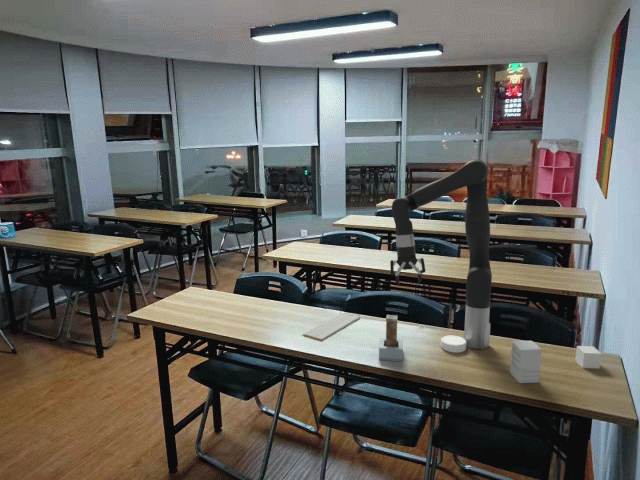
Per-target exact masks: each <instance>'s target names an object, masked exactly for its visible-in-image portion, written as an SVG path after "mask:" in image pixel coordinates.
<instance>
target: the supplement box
mask: <svg viewBox="0 0 640 480" xmlns="http://www.w3.org/2000/svg"><path fill="white" fill-rule="evenodd" d="M510 353H511V356H510V357H511V358H510V368H509V369H510V370H509V374H510V375H511V376H512V377H513V379H514V380H515V381H516V382H518V383H519V384H529V383H530V384H534V383H540V375H541V363H542V353H543V349H542V348H541V347H540V346H538V345H537V344H536V343H535V342H534V341H532V340H515V341H511V352H510Z"/></svg>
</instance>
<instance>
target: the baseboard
mask: <svg viewBox="0 0 640 480" xmlns="http://www.w3.org/2000/svg"><path fill="white" fill-rule="evenodd" d="M349 313H350V311H347V313H346V312H340V313H339V314H337V315H336V316H334V317H332V318H330V319H329V320H326V321H324V322H323V323H321V324H319V325H317V326H315V327H314V328H312V329H310V330H308V331H306V332H305V333H303V334H302V336H303V337H307V338H310V339H314V340H316V341H317V340H318V341H321V342H322V341H324V340H326V339H327V338H329V337H330V336H333V335H334V334H335V333H337V332H339V331H342V330H343V329H344V328H346V327H348V326H350V325H351V324H353V323H354V322H356V321H358V320H359V319H360V318H361V317H360V314H358V315H354V314H351V313H350V314H349Z"/></svg>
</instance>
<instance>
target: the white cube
mask: <svg viewBox="0 0 640 480" xmlns="http://www.w3.org/2000/svg"><path fill="white" fill-rule="evenodd" d="M601 359H602V352H600V350H598V349H597V348H596V347H595V346H594V345H593V346H591V345H590V346H589V345H584V346H583V345H576V349H575V360H574V361H575V362H576V364H578V365H579V366H580V367H581V368H582V369H600V367H601V361H602V360H601Z"/></svg>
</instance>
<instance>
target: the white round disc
mask: <svg viewBox="0 0 640 480" xmlns="http://www.w3.org/2000/svg"><path fill="white" fill-rule="evenodd" d="M466 343H467V342H466V340H465V339H464V337H461V336H458V335H454V334H453V335H451V334H450V335H445V336H443V337H441V339H440V348H441V349H442V350H444V351H445V352H448V353H453V354H455V353H456V354H457V353H459V354H460V353H463V352H465V351H466V350H467V346H466Z"/></svg>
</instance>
